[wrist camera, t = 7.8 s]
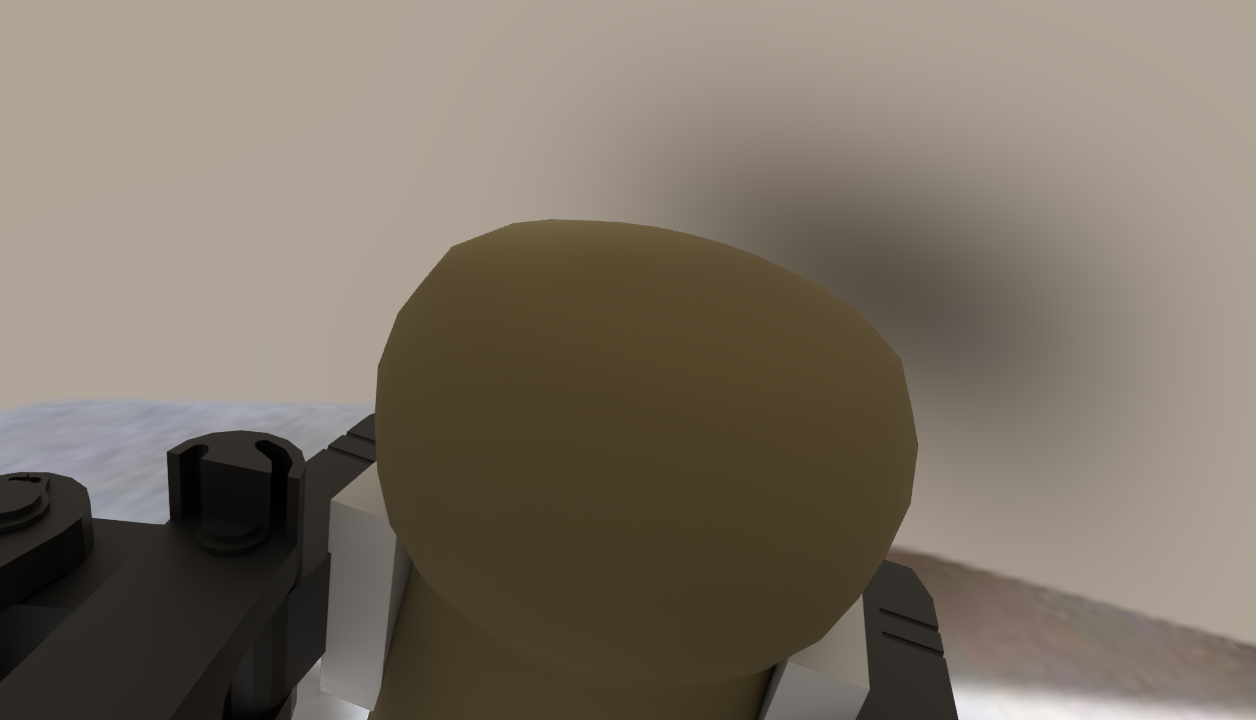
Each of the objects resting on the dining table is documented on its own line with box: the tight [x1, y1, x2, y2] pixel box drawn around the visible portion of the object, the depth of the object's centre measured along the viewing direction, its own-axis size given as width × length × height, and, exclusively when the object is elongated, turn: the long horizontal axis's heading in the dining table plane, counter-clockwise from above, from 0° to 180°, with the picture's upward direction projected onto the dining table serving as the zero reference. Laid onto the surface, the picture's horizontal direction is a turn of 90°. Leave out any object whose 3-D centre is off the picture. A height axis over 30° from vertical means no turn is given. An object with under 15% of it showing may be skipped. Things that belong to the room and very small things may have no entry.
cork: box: [367, 219, 918, 720], centre depth 9 cm, size 6×6×11 cm
